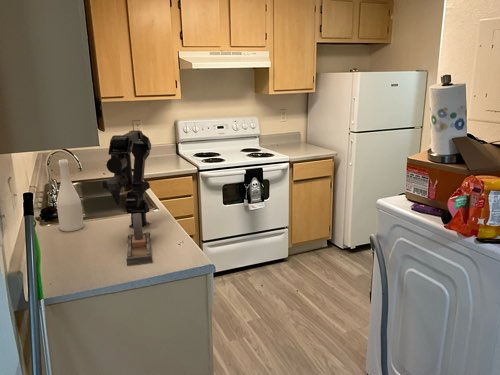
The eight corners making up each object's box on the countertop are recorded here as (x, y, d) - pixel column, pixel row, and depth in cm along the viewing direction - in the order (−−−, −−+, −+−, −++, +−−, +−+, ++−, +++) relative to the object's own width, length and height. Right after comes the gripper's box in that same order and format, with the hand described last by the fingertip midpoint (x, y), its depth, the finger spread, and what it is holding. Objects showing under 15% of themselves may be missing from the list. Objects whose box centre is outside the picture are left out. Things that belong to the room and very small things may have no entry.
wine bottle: (64, 224, 180) (55, 158, 173) (86, 223, 181) (78, 157, 174) (56, 232, 171) (46, 162, 164) (80, 231, 172) (71, 161, 165)
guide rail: (128, 240, 162) (127, 233, 161) (150, 238, 164) (149, 231, 163) (126, 265, 140) (126, 257, 139) (152, 262, 142) (151, 254, 141)
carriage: (132, 240, 158) (130, 212, 155) (145, 239, 159) (143, 210, 156) (132, 247, 151) (129, 217, 148) (145, 246, 152) (143, 216, 149)
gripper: (90, 170, 155) (94, 209, 159) (131, 173, 148) (135, 214, 152) (109, 164, 165) (113, 201, 169) (149, 167, 159) (152, 205, 163)
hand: (127, 205), depth 163 cm, fingers open, 9 cm apart
